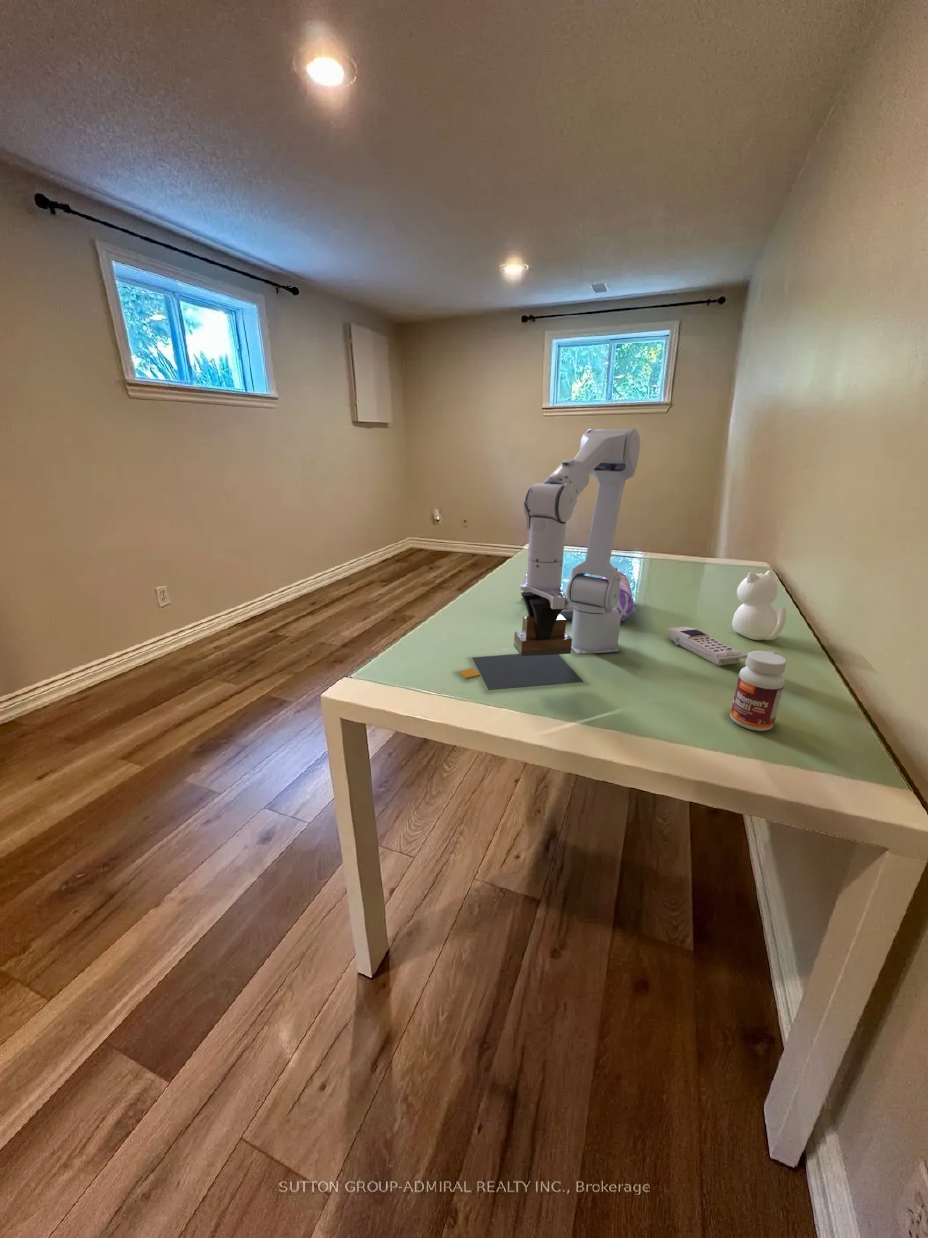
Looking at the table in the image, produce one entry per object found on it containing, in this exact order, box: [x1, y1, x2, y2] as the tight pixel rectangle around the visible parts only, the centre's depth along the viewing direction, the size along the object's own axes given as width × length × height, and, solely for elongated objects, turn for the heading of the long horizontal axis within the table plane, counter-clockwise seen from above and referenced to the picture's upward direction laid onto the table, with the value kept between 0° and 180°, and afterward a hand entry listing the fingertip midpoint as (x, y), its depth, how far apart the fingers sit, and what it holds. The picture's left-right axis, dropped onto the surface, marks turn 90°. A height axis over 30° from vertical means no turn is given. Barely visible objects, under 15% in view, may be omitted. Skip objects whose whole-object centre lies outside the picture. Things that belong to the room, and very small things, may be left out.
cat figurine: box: [731, 569, 787, 641], centre depth 110 cm, size 9×12×15 cm
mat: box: [471, 653, 584, 691], centre depth 95 cm, size 18×14×1 cm
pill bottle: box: [729, 650, 787, 732], centre depth 76 cm, size 6×6×11 cm
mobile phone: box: [666, 626, 779, 667], centre depth 101 cm, size 6×6×25 cm
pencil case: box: [599, 567, 634, 622], centre depth 128 cm, size 22×9×10 cm, turn 167°
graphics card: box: [520, 589, 574, 620], centre depth 128 cm, size 17×4×12 cm
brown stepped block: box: [513, 615, 572, 656], centre depth 85 cm, size 9×4×6 cm, turn 101°
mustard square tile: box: [458, 667, 481, 680], centre depth 92 cm, size 3×3×1 cm
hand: (540, 635), depth 85 cm, fingers closed on brown stepped block, 2 cm apart
